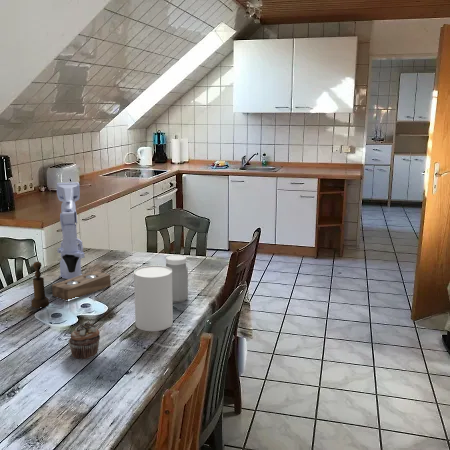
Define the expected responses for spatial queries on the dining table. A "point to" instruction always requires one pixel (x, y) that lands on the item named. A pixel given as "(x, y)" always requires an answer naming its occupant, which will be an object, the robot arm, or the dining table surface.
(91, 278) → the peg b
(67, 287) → the walnut frame
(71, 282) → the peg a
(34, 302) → the dark brown tall piece
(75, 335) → the cupcake
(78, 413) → the dining table surface
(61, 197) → the robot arm
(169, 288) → the canister
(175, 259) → the jar
